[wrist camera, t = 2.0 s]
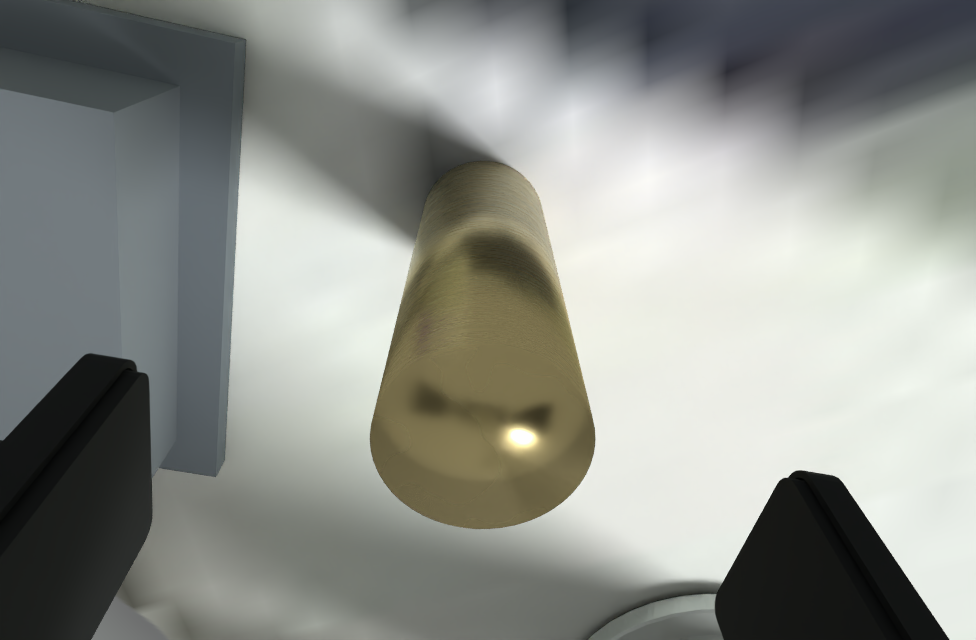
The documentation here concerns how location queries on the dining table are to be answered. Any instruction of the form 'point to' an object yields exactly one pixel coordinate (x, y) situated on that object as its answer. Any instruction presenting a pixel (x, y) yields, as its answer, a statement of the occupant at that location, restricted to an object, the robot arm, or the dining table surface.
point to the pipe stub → (482, 362)
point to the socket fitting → (120, 212)
